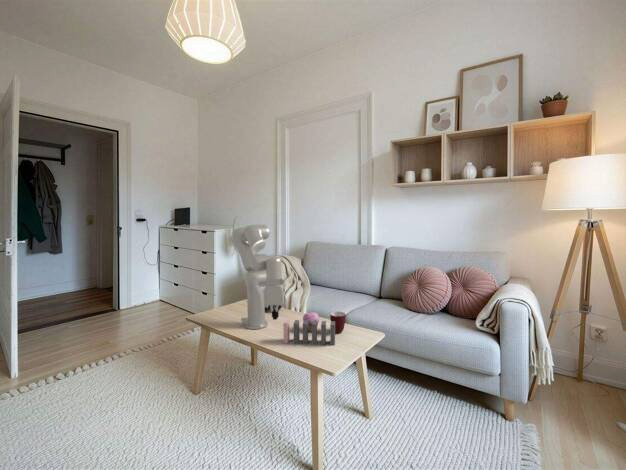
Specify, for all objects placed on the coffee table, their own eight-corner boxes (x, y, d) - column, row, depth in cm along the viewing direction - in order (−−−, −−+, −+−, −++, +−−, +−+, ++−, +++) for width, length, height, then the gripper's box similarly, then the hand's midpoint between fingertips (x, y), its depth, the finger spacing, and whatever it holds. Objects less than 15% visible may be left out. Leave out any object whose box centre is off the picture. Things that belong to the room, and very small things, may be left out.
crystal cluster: (259, 308, 207) (258, 295, 205) (279, 305, 210) (278, 291, 209) (262, 316, 194) (260, 302, 192) (283, 312, 198) (281, 298, 196)
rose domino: (283, 343, 150) (283, 323, 150) (285, 338, 155) (285, 319, 154) (287, 343, 150) (287, 323, 149) (289, 339, 155) (289, 319, 154)
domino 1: (293, 343, 150) (293, 323, 149) (295, 339, 155) (295, 320, 154) (297, 343, 149) (297, 323, 149) (299, 339, 154) (299, 320, 154)
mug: (336, 326, 171) (336, 309, 170) (350, 329, 167) (350, 311, 166) (327, 333, 162) (327, 314, 161) (341, 336, 158) (341, 317, 157)
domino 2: (302, 343, 149) (302, 323, 148) (304, 339, 154) (304, 320, 153) (306, 344, 149) (306, 324, 148) (308, 339, 154) (308, 320, 153)
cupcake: (300, 329, 167) (299, 311, 166) (312, 326, 172) (312, 308, 172) (309, 334, 160) (309, 316, 159) (322, 330, 165) (322, 312, 165)
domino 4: (321, 344, 148) (321, 324, 147) (322, 340, 153) (322, 320, 152) (325, 344, 148) (325, 324, 147) (326, 340, 153) (326, 321, 152)
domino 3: (311, 344, 149) (311, 324, 148) (313, 340, 154) (313, 320, 153) (316, 344, 148) (315, 324, 148) (317, 340, 153) (317, 320, 153)
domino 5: (330, 345, 148) (330, 324, 147) (331, 340, 152) (331, 321, 152) (334, 345, 147) (334, 325, 147) (335, 341, 152) (335, 321, 151)
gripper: (290, 280, 154) (291, 316, 155) (261, 280, 156) (262, 316, 156) (287, 283, 146) (288, 321, 147) (257, 283, 148) (258, 321, 149)
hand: (275, 318), depth 152 cm, fingers closed
